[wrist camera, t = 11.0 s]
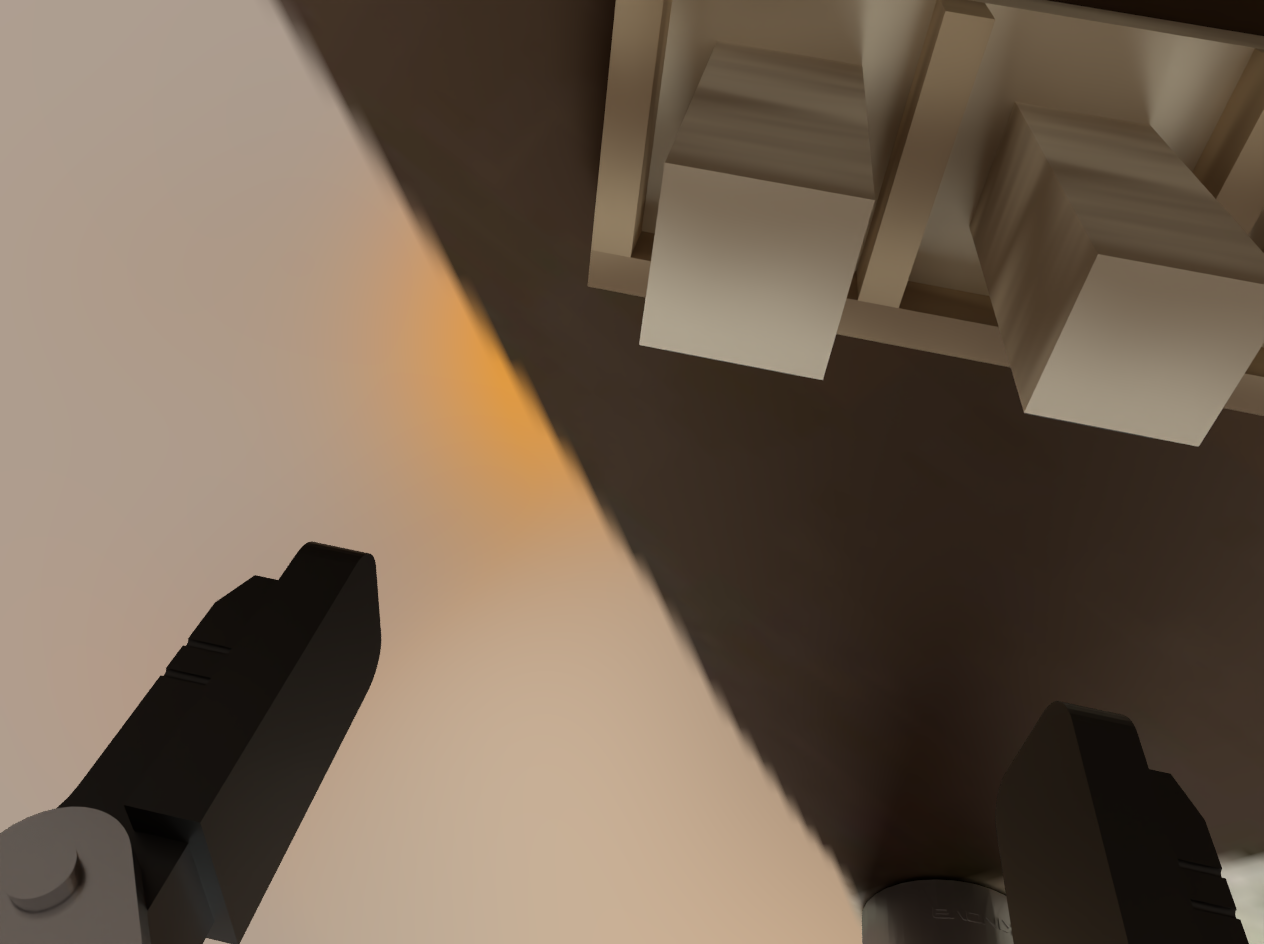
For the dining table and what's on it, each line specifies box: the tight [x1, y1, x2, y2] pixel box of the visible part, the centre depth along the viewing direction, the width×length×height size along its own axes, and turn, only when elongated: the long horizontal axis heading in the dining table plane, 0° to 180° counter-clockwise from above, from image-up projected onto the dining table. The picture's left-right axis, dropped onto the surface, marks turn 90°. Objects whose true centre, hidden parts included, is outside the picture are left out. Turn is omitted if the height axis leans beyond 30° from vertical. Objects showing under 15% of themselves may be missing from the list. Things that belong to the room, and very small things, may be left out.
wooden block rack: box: [588, 0, 1264, 447], centre depth 23 cm, size 9×25×12 cm, turn 83°
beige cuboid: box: [639, 41, 875, 380], centre depth 23 cm, size 5×4×10 cm
